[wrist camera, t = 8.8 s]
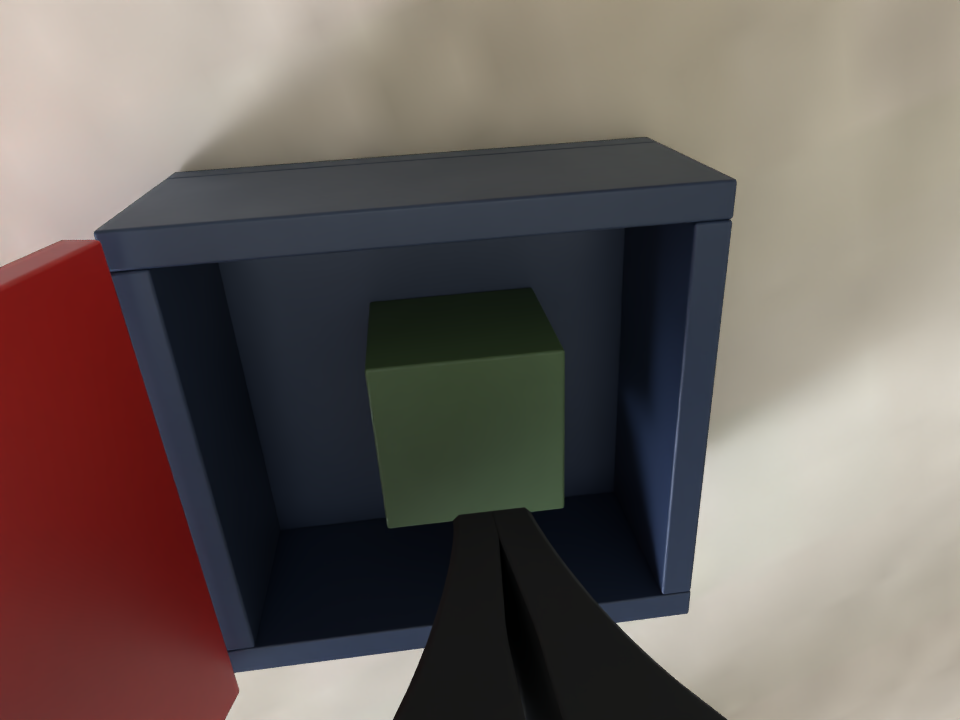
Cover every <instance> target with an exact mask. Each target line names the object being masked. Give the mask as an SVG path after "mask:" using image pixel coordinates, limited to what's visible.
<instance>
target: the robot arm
mask: <svg viewBox="0 0 960 720" xmlns="http://www.w3.org/2000/svg"><path fill="white" fill-rule="evenodd" d="M453 528H454V532H453V545H452V552H451V558H450V563H449V569H448V573H447V577H446V581H445V585H444V589H443V593H442V597H441V601H440V604H439V607H438V611H437V614H436V617H435V620H434V623H433V626H432V629H431V632H430V635H429V638H428V641H427V643H426V646H425V649H424V651H423V654H422V656H421V659H420V661H419V664H418V666H417V669H416V671H415V673H414V676H413V678H412V680H411V683H410V685H409V687H408V690H407V692H406V694H405V696H404V698H403V700H402V702H401V704H400V706H399V708H398V710H397V712H396V714H395V717H394V719H393V720H727V719H726V718H725V717H723V716H722V715H721V714H719V713H718V712H717V711H716V710H714V709H713V708H712V707H710V706H709V705H708V704H707V703H705V702H704V701H703V700H701V699H700V698H699V697H698V696H696V695H695V694H694V693H692V692H691V691H690V690H688V689H687V688H686V687H685V686H683V685H682V684H681V683H680V682H678V681H677V680H676V679H675V678H674V677H672V676H671V675H670V674H669V673H668V672H667V671H666V670H664V669H663V668H662V667H661V666H660V665H659V664H658V663H656V662H655V661H654V660H653V659H652V658H651V657H650V656H649V655H648V654H647V653H646V652H644V651H643V650H642V649H641V648H640V647H639V646H638V645H637V644H636V643H635V642H634V641H633V640H632V639H631V638H630V637H629V636H628V635H627V634H626V633H625V632H624V631H623V630H622V629H621V628H620V627H619V626H618V625H617V624H616V623H615V622H614V621H613V620H612V619H611V618H610V616H609V615H608V614H607V613H606V612H605V611H604V610H603V609H602V608H601V607H600V605H599V604H598V603H597V602H596V601H595V600H594V599H593V598H592V596H591V595H590V594H589V593H588V592H587V591H586V589H585V588H584V587H583V586H582V584H581V583H580V582H579V581H578V579H577V578H576V577H575V576H574V574H573V573H572V572H571V571H570V569H569V568H568V567H567V566H566V564H565V563H564V562H563V560H562V559H561V558H560V556H559V555H558V554H557V552H556V551H555V549H554V548H553V547H552V545H551V544H550V542H549V541H548V539H547V538H546V536H545V535H544V533H543V532H542V530H541V529H540V527H539V525H538V524H537V522H536V520H535V519H534V517H533V515H532V513H531V512H530V511H529V510H528V509H526V508H525V507H522V508H513V509H504V510H496V511H487V512H479V513H470V514H461V515H458V516H457V517H456V518H455V519H454V520H453Z"/></svg>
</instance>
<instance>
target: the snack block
mask: <svg viewBox="0 0 960 720" xmlns="http://www.w3.org/2000/svg"><path fill="white" fill-rule="evenodd" d="M365 378H366V384H367V391H368V398H369V405H370V412H371V419H372V426H373V433H374V440H375V447H376V454H377V461H378V467H379V474H380V481H381V488H382V495H383V502H384V509H385V516H386V523H387V527H388V528H398V527H406V526H415V525H423V524H432V523H440V522H449V521H453V520H454V519H455V518H456V517H457V516H458V515H461V514H470V513H479V512H487V511H496V510H504V509H513V508H522V507H525V508H526V509H528V510H529V511H530V512H534V511H543V510H552V509H560V508H563V507H564V455H565V351H564V349H563V347H562V345H561V343H560V341H559V339H558V337H557V335H556V333H555V332H554V330H553V328H552V326H551V324H550V322H549V320H548V318H547V316H546V314H545V312H544V310H543V308H542V306H541V304H540V302H539V300H538V299H537V297H536V295H535V293H534V291H533V289H532V288H522V289H511V290H500V291H489V292H478V293H467V294H456V295H445V296H434V297H423V298H412V299H401V300H390V301H379V302H371V303H370V306H369V319H368V333H367V346H366V360H365Z"/></svg>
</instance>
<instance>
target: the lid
mask: <svg viewBox="0 0 960 720" xmlns="http://www.w3.org/2000/svg"><path fill="white" fill-rule="evenodd" d="M238 693H239V687H238V684H237V681H236V678H235V675H234V671H233V668H232V665H231V662H230V658H229V655H228V652H227V649H226V645H225V642H224V639H223V636H222V633H221V629H220V626H219V623H218V620H217V616H216V613H215V610H214V607H213V603H212V600H211V597H210V594H209V591H208V587H207V584H206V581H205V578H204V574H203V571H202V568H201V565H200V561H199V558H198V555H197V552H196V549H195V545H194V542H193V539H192V536H191V532H190V529H189V526H188V523H187V519H186V516H185V513H184V510H183V507H182V503H181V500H180V497H179V494H178V490H177V487H176V484H175V481H174V477H173V474H172V471H171V468H170V465H169V461H168V458H167V455H166V452H165V448H164V445H163V442H162V439H161V435H160V432H159V429H158V426H157V423H156V419H155V416H154V413H153V410H152V406H151V403H150V400H149V397H148V393H147V390H146V387H145V384H144V381H143V377H142V374H141V371H140V368H139V364H138V361H137V358H136V355H135V351H134V348H133V345H132V342H131V339H130V335H129V332H128V329H127V326H126V322H125V319H124V316H123V313H122V309H121V306H120V303H119V300H118V297H117V293H116V290H115V287H114V284H113V280H112V277H111V274H110V271H109V267H108V264H107V261H106V258H105V255H104V251H103V248H102V245H101V243H100V241H98V240H61V241H59V242H56V243H54V244H52V245H50V246H47V247H45V248H43V249H40V250H38V251H36V252H34V253H31V254H29V255H27V256H25V257H22V258H20V259H18V260H16V261H13V262H11V263H9V264H7V265H4V266H2V267H0V720H225V718H226V716H227V715H228V713H229V711H230V709H231V707H232V705H233V703H234V701H235V699H236V697H237V695H238Z"/></svg>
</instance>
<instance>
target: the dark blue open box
mask: <svg viewBox="0 0 960 720" xmlns="http://www.w3.org/2000/svg"><path fill="white" fill-rule="evenodd" d="M736 185H737V182H736V179H733V178H731V177H729V176H727V175H725V174H723V173H721V172H719V171H717V170H715V169H713V168H710V167H708V166H706V165H704V164H702V163H700V162H698V161H696V160H694V159H692V158H690V157H688V156H685V155H683V154H681V153H679V152H677V151H675V150H673V149H671V148H669V147H667V146H665V145H662V144H660V143H658V142H656V141H654V140H652V139H650V138H648V137H641V138H628V139H614V140H601V141H588V142H574V143H561V144H548V145H534V146H521V147H508V148H494V149H481V150H468V151H454V152H441V153H428V154H414V155H401V156H388V157H374V158H361V159H348V160H334V161H321V162H308V163H294V164H281V165H268V166H254V167H241V168H228V169H214V170H201V171H188V172H175V173H174V174H172V175H171V176H170V177H168V178H167V179H166V180H164V181H163V182H161V183H160V184H159V185H157V186H156V187H154V188H153V189H152V190H150V191H149V192H148V193H146V194H145V195H143V196H142V197H141V198H139V199H138V200H137V201H135V202H134V203H132V204H131V205H130V206H128V207H127V208H126V209H124V210H123V211H122V212H120V213H119V214H117V215H116V216H115V217H113V218H112V219H111V220H109V221H108V222H106V223H105V224H104V225H102V226H101V227H100V228H98V229H97V230H95V231H94V237H95V240H98V241H100V243H101V245H102V248H103V251H104V255H105V258H106V261H107V264H108V267H109V271H110V274H111V277H112V280H113V284H114V287H115V290H116V293H117V297H118V300H119V303H120V306H121V309H122V313H123V316H124V319H125V322H126V326H127V329H128V332H129V335H130V339H131V342H132V345H133V348H134V351H135V355H136V358H137V361H138V364H139V368H140V371H141V374H142V377H143V381H144V384H145V387H146V390H147V393H148V397H149V400H150V403H151V406H152V410H153V413H154V416H155V419H156V423H157V426H158V429H159V432H160V435H161V439H162V442H163V445H164V448H165V452H166V455H167V458H168V461H169V465H170V468H171V471H172V474H173V477H174V481H175V484H176V487H177V490H178V494H179V497H180V500H181V503H182V507H183V510H184V513H185V516H186V519H187V523H188V526H189V529H190V532H191V536H192V539H193V542H194V545H195V549H196V552H197V555H198V558H199V561H200V565H201V568H202V571H203V574H204V578H205V581H206V584H207V587H208V591H209V594H210V597H211V600H212V603H213V607H214V610H215V613H216V616H217V620H218V623H219V626H220V629H221V633H222V636H223V639H224V642H225V645H226V649H227V652H228V655H229V658H230V662H231V665H232V668H233V671H234V673H236V672H244V671H251V670H259V669H267V668H274V667H282V666H290V665H297V664H305V663H313V662H320V661H328V660H336V659H343V658H351V657H358V656H366V655H374V654H381V653H389V652H397V651H404V650H412V649H420V648H425V646H426V643H427V641H428V638H429V635H430V632H431V629H432V626H433V623H434V620H435V617H436V614H437V611H438V607H439V604H440V601H441V597H442V593H443V589H444V585H445V581H446V577H447V573H448V569H449V563H450V558H451V552H452V545H453V532H454V528H453V521H449V522H440V523H432V524H423V525H415V526H406V527H398V528H388V527H387V523H386V516H385V509H384V502H383V495H382V488H381V481H380V474H379V467H378V461H377V454H376V447H375V440H374V433H373V426H372V419H371V412H370V405H369V398H368V391H367V384H366V378H365V360H366V346H367V333H368V319H369V306H370V303H371V302H379V301H390V300H401V299H412V298H423V297H434V296H445V295H456V294H467V293H478V292H489V291H500V290H511V289H522V288H532V289H533V291H534V293H535V295H536V297H537V299H538V300H539V302H540V304H541V306H542V308H543V310H544V312H545V314H546V316H547V318H548V320H549V322H550V324H551V326H552V328H553V330H554V332H555V333H556V335H557V337H558V339H559V341H560V343H561V345H562V347H563V349H564V351H565V455H564V507H563V508H560V509H552V510H543V511H534V512H531V513H532V515H533V517H534V519H535V520H536V522H537V524H538V525H539V527H540V529H541V530H542V532H543V533H544V535H545V536H546V538H547V539H548V541H549V542H550V544H551V545H552V547H553V548H554V549H555V551H556V552H557V554H558V555H559V556H560V558H561V559H562V560H563V562H564V563H565V564H566V566H567V567H568V568H569V569H570V571H571V572H572V573H573V574H574V576H575V577H576V578H577V579H578V581H579V582H580V583H581V584H582V586H583V587H584V588H585V589H586V591H587V592H588V593H589V594H590V595H591V596H592V598H593V599H594V600H595V601H596V602H597V603H598V604H599V605H600V607H601V608H602V609H603V610H604V611H605V612H606V613H607V614H608V615H609V616H610V618H611V619H612V620H613V621H614V622H615V623H618V622H626V621H633V620H641V619H649V618H656V617H664V616H672V615H679V614H687V613H688V610H689V601H690V588H691V579H692V571H693V562H694V553H695V544H696V535H697V527H698V518H699V509H700V500H701V491H702V483H703V474H704V465H705V456H706V447H707V439H708V430H709V421H710V412H711V403H712V395H713V386H714V377H715V368H716V359H717V351H718V342H719V333H720V324H721V315H722V307H723V298H724V289H725V280H726V271H727V263H728V254H729V245H730V236H731V227H732V221H731V220H730V219H731V218H732V217H733V211H734V202H735V194H736Z"/></svg>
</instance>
